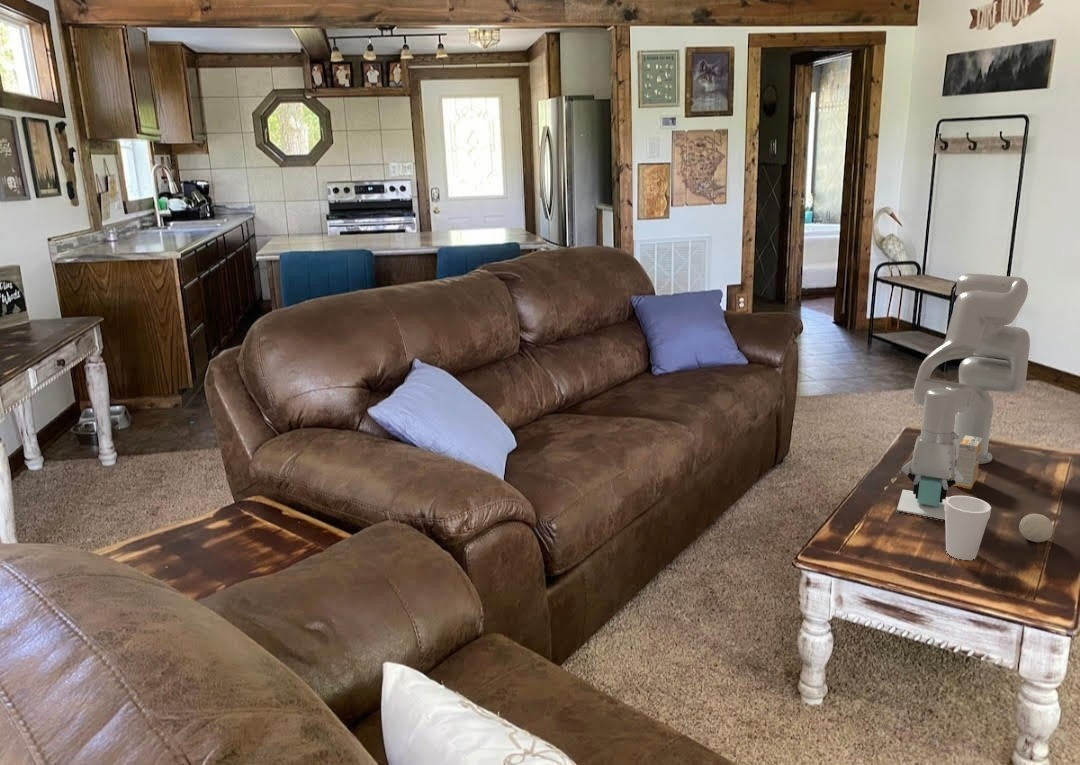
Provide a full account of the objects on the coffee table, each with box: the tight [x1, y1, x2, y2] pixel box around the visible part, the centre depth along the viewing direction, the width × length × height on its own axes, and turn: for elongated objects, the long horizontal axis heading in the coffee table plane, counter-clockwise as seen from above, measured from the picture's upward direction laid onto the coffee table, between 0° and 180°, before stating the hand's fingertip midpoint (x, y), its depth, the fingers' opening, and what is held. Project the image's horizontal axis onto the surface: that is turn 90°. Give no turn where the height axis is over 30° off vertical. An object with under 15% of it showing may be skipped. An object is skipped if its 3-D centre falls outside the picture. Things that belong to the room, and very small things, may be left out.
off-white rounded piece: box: [1018, 513, 1054, 543], centre depth 191 cm, size 7×7×7 cm
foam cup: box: [944, 495, 992, 561], centre depth 185 cm, size 10×9×13 cm
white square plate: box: [896, 489, 949, 520], centre depth 210 cm, size 14×14×6 cm
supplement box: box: [953, 435, 982, 490], centre depth 223 cm, size 8×5×13 cm, turn 143°
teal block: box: [917, 476, 942, 506], centre depth 210 cm, size 5×5×7 cm
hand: (929, 498), depth 211 cm, fingers closed on teal block, 5 cm apart
